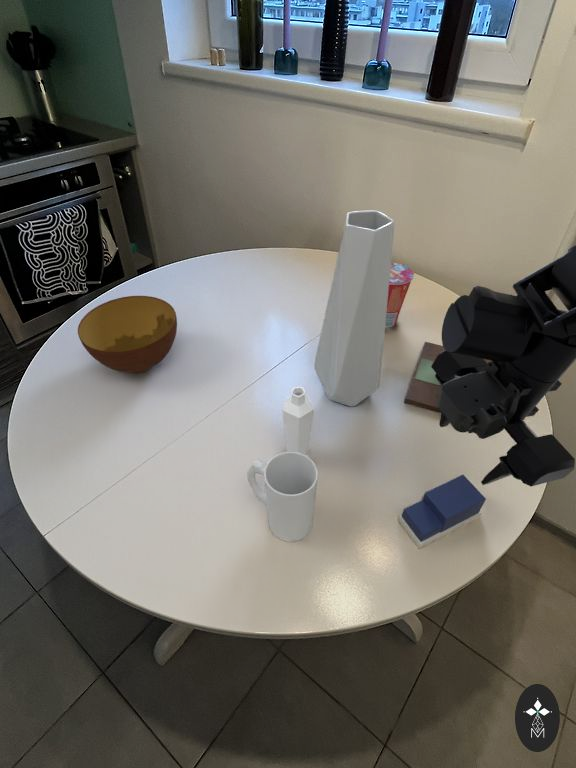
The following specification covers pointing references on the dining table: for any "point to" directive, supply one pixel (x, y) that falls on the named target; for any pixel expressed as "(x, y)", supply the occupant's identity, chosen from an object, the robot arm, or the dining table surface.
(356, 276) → the vase
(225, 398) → the dining table surface
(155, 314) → the bowl
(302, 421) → the perfume bottle
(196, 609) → the dining table surface
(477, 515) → the blue stepped block
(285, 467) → the mug
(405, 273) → the cup
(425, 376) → the brown flat slab
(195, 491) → the dining table surface
